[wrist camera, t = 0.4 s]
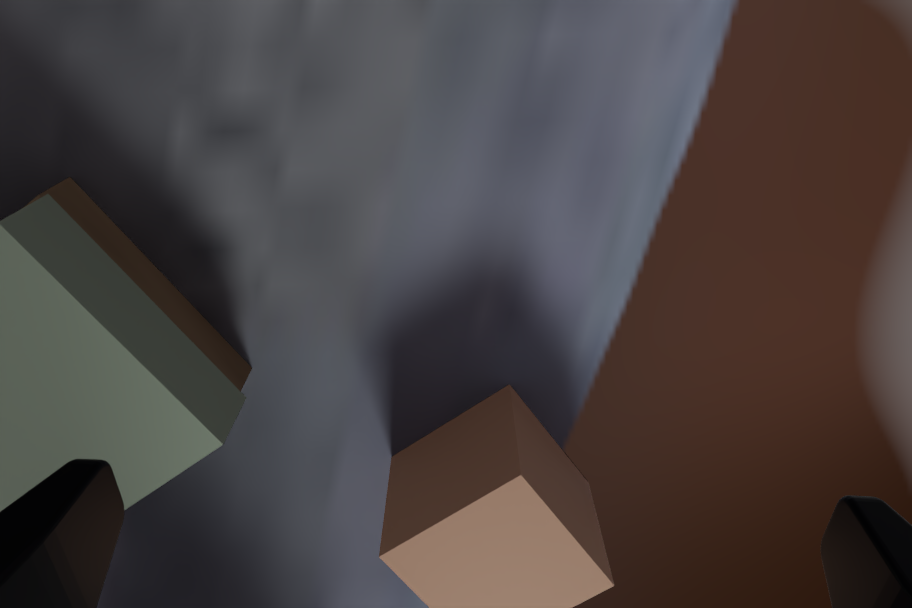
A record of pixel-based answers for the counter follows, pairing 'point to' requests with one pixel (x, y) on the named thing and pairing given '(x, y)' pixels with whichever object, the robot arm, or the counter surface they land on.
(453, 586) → the tan cube
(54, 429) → the sage slab
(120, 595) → the counter surface
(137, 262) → the walnut slab
